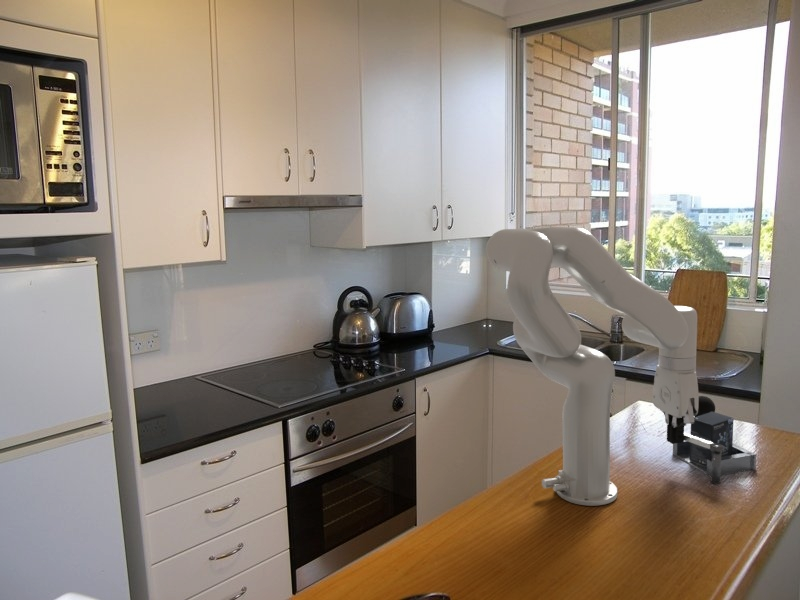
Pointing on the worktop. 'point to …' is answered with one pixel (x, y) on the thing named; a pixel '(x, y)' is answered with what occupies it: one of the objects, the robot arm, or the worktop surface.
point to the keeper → (719, 461)
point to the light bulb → (705, 406)
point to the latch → (704, 443)
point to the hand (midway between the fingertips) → (675, 441)
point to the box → (711, 436)
